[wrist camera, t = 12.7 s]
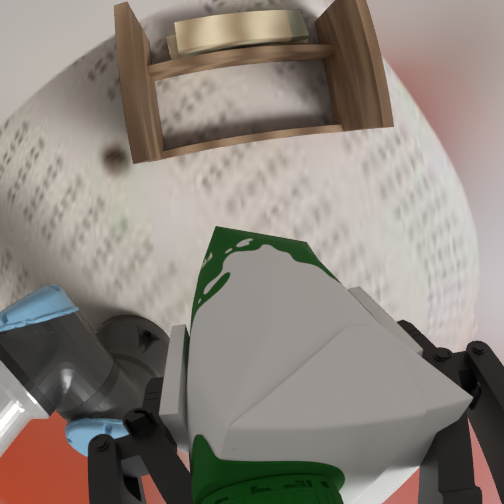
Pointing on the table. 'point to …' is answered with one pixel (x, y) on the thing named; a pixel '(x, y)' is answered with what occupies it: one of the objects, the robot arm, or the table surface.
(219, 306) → the soya milk
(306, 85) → the table surface
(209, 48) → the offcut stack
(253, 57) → the walnut rack
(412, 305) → the table surface
